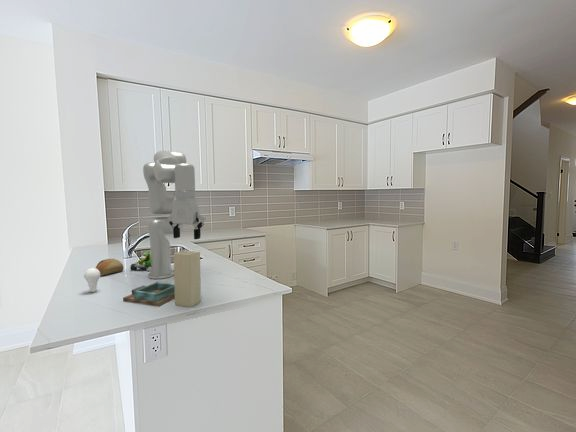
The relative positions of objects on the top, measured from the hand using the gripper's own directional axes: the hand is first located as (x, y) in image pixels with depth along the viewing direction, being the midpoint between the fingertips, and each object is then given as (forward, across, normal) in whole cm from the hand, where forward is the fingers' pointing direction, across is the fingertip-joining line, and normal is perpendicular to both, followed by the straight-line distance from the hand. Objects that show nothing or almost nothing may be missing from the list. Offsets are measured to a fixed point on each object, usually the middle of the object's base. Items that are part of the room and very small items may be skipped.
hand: (186, 238), depth 116 cm
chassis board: (+26, -18, 0) cm, 32 cm away
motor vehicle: (+27, -58, +39) cm, 75 cm away
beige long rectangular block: (+27, 0, 0) cm, 27 cm away
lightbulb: (+26, -49, -3) cm, 56 cm away
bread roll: (+26, -69, +22) cm, 77 cm away
